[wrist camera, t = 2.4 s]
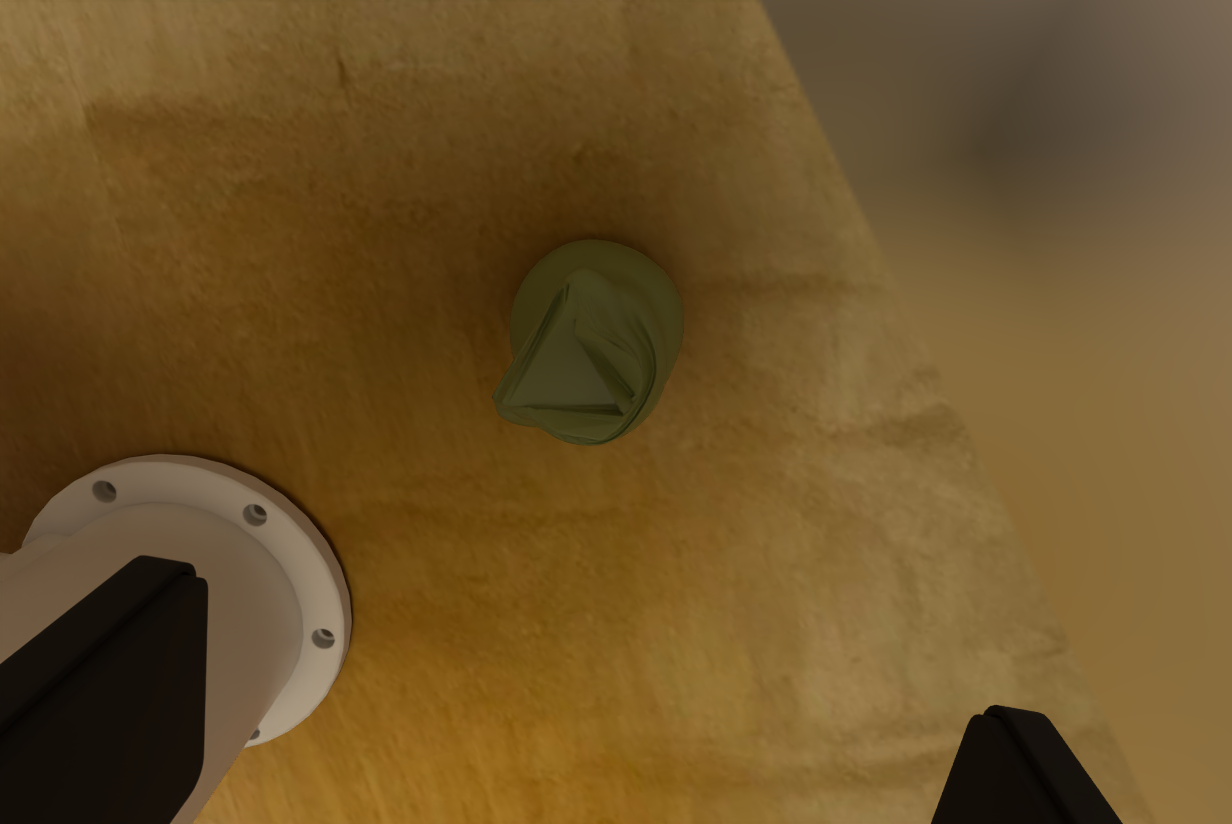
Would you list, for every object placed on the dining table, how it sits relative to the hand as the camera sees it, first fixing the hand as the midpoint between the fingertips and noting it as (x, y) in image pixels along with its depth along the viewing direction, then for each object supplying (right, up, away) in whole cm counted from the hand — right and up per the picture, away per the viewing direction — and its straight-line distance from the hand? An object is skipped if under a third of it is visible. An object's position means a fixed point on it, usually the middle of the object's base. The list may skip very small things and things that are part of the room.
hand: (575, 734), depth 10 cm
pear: (0, +7, +19) cm, 20 cm away
